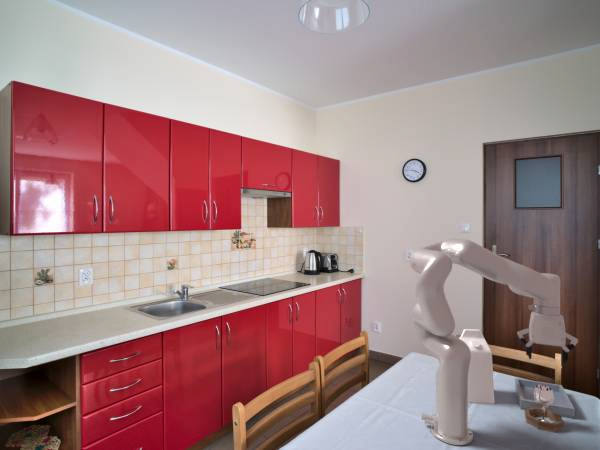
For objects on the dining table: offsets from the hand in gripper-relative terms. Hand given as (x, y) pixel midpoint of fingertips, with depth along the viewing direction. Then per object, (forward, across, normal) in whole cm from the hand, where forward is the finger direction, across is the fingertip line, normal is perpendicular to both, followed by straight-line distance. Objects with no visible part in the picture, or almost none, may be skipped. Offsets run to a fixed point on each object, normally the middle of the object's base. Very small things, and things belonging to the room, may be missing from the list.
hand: (546, 360), depth 124 cm
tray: (+21, 0, +16) cm, 26 cm away
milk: (+21, -23, +9) cm, 33 cm away
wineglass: (+21, -1, -1) cm, 21 cm away
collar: (+21, -1, -1) cm, 21 cm away
